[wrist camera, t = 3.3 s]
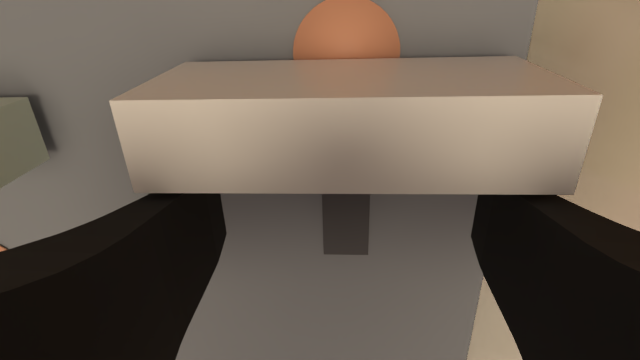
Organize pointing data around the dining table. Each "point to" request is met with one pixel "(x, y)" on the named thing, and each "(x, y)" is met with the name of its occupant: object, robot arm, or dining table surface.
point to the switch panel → (260, 209)
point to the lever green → (19, 139)
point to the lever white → (357, 127)
